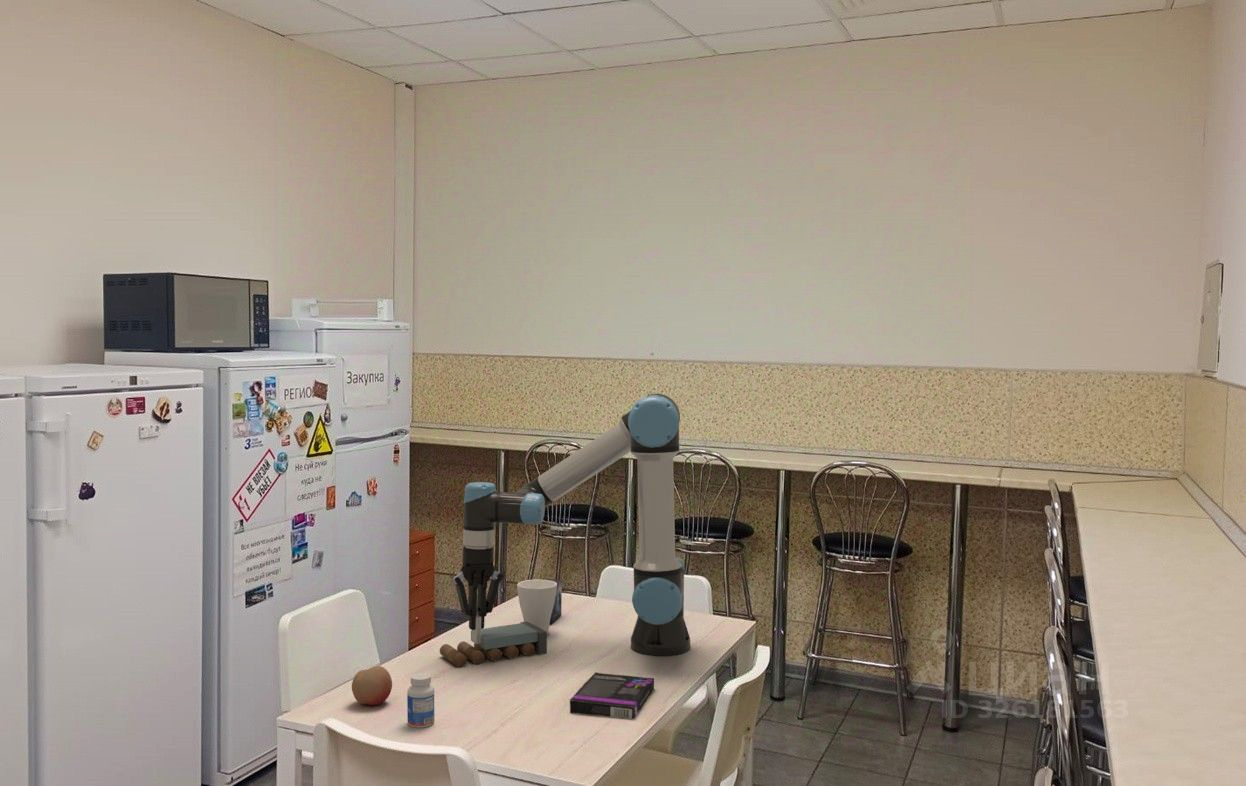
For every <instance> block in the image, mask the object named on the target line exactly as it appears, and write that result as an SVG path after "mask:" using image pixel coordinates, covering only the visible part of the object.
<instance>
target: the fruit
mask: <svg viewBox="0 0 1246 786" xmlns="http://www.w3.org/2000/svg"><path fill="white" fill-rule="evenodd" d="M353 677H354V678H353V680H352V681H351V692H352V694H353V697H354V699H355V700H356V702H358V703H359V704H360V705H368V706H372V707H373V706H379V705H382V704H383V703H384V702H385V701H386V700H387V699H388V698H389V697H390V695H391V692H392V689H393V679H392V677H391V675H390V672H389V671H388V670H387V669H386V668H385V667H384V666H381V665H376V666H374V667H370V668H368V669H362V670H359V671H358V672H357V673H356V674H355V675H354V676H353Z"/></svg>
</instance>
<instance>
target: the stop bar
mask: <svg viewBox="0 0 1246 786" xmlns="http://www.w3.org/2000/svg"><path fill="white" fill-rule="evenodd" d="M520 623H523V624H525V625H527V626H529V627H530V628H532V629H534V630H536V631H538V641H537V642H531V644H533V645H534V646H535V652H534V653H536V654H538V655H539V656H542V655H547V654H548V651H547V650H548V645H547V644H548V635H547V632H546V631H545V630H543V629H541V628H539V627H537V626H535V625H533V624H531V623H529V622H524V621H522V622H520Z"/></svg>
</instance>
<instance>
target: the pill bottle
mask: <svg viewBox="0 0 1246 786" xmlns="http://www.w3.org/2000/svg"><path fill="white" fill-rule="evenodd" d="M431 683H432V675H431V674H429V673H425V672H422V673H421V672H420V673H419V672H418V673H415V674H412V675H411V676H410V686H408V688H407V692H406V695H407V696H406V698H407V699H406V700H407V704H406V706H407V709H406V711H407V713H406V716H407V725H408V726H410V727H412V728H418V729H421V728H427V727H430V726H432V725H433V724H435V716H436V715H435V711H436V710H435V688H434V686H433V685H432V684H431Z"/></svg>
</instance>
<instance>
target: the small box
mask: <svg viewBox="0 0 1246 786" xmlns="http://www.w3.org/2000/svg"><path fill="white" fill-rule="evenodd" d="M540 580H550V581H554V582H556V583H557V590H556V597H555V602H554V607H553V610H552V614H551V619H550V623H549V626H550V625H553V624H554V623H555V622H556V621H558V619H559V618H560V617H561V616H562V603H563V601H562V600H563V599H562V593H563V591H562V590H563V588H562V587H563V585H562V584H563V580H562V579H555V578H554V579H553V578H552V579H551V578H545V577H544V578H541V579H540Z"/></svg>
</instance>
